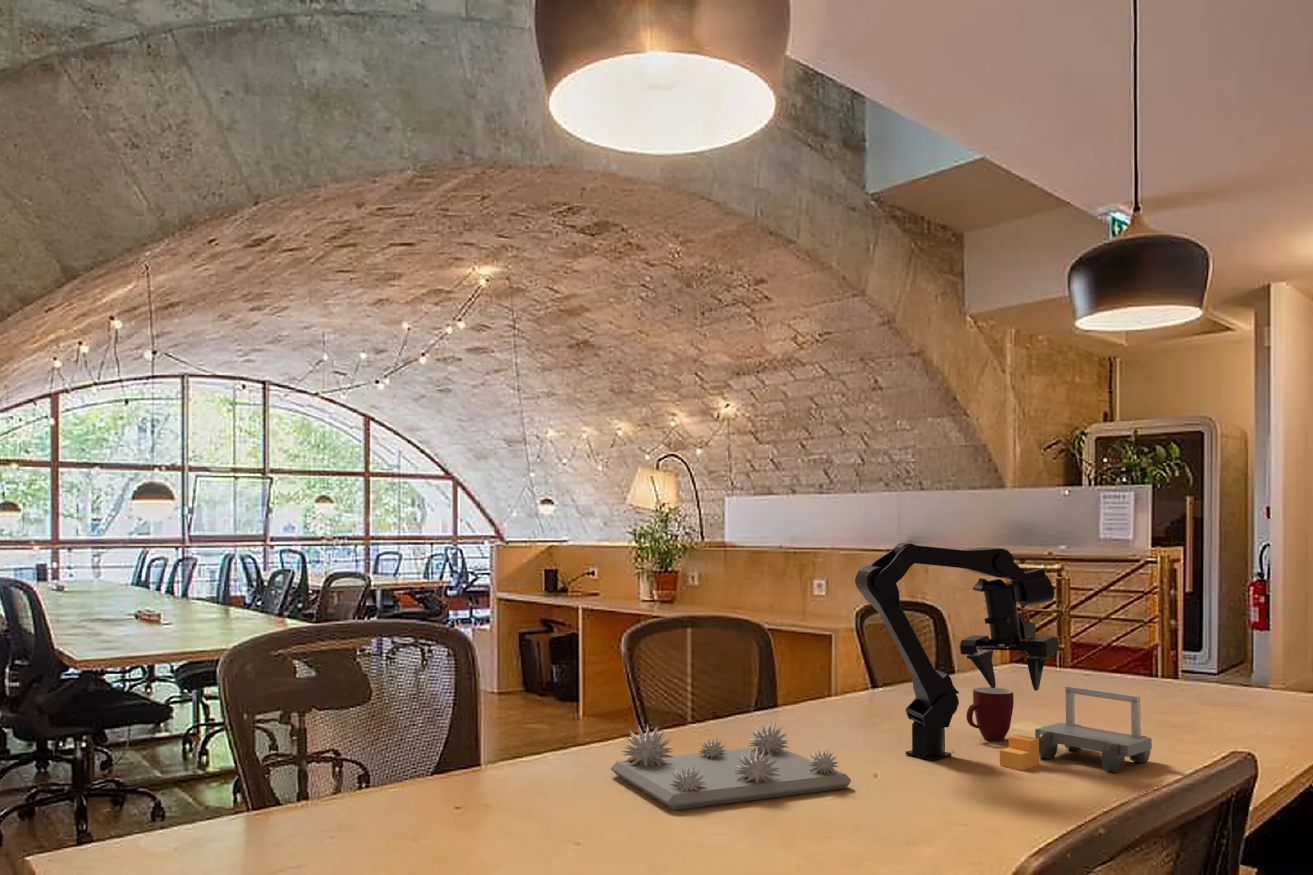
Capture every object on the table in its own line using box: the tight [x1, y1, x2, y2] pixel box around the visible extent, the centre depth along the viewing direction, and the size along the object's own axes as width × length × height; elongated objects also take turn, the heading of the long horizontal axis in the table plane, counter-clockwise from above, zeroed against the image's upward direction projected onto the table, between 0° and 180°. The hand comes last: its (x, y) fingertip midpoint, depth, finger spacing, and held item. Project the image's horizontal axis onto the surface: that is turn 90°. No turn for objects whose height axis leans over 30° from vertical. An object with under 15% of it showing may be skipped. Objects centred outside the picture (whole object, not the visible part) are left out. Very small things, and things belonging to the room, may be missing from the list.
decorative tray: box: [610, 720, 852, 811], centre depth 179 cm, size 35×26×10 cm
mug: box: [965, 686, 1015, 742], centre depth 214 cm, size 10×8×10 cm
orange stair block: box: [999, 734, 1040, 771], centre depth 193 cm, size 6×4×5 cm
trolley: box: [1034, 685, 1152, 774], centre depth 197 cm, size 16×18×13 cm
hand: (1014, 689), depth 203 cm, fingers open, 9 cm apart
